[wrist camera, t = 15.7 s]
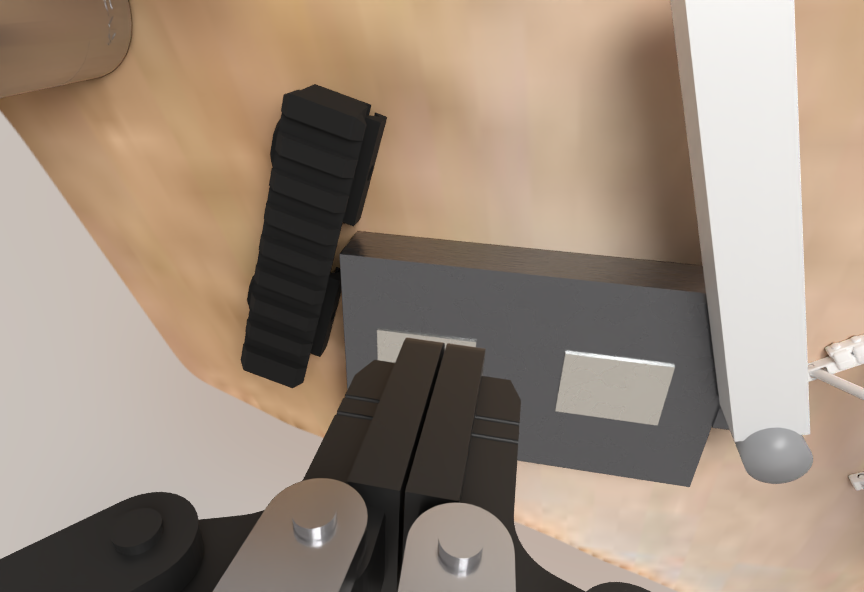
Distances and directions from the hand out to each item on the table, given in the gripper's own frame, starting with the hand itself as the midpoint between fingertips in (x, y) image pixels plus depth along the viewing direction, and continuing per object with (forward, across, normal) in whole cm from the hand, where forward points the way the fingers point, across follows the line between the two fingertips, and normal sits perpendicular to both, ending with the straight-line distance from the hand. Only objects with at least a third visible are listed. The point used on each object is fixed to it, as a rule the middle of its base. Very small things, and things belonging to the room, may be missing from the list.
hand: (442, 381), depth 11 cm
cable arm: (+23, -14, +6) cm, 27 cm away
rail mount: (+28, +14, +10) cm, 33 cm away
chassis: (+28, -5, +17) cm, 33 cm away
